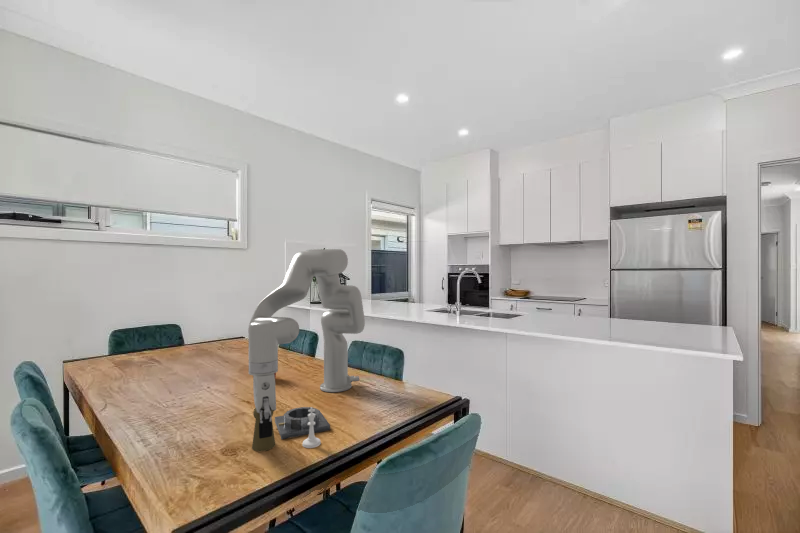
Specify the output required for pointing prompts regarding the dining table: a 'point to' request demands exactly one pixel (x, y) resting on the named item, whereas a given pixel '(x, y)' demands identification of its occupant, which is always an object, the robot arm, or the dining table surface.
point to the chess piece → (311, 433)
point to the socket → (300, 422)
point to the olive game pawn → (262, 443)
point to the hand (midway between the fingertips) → (263, 430)
